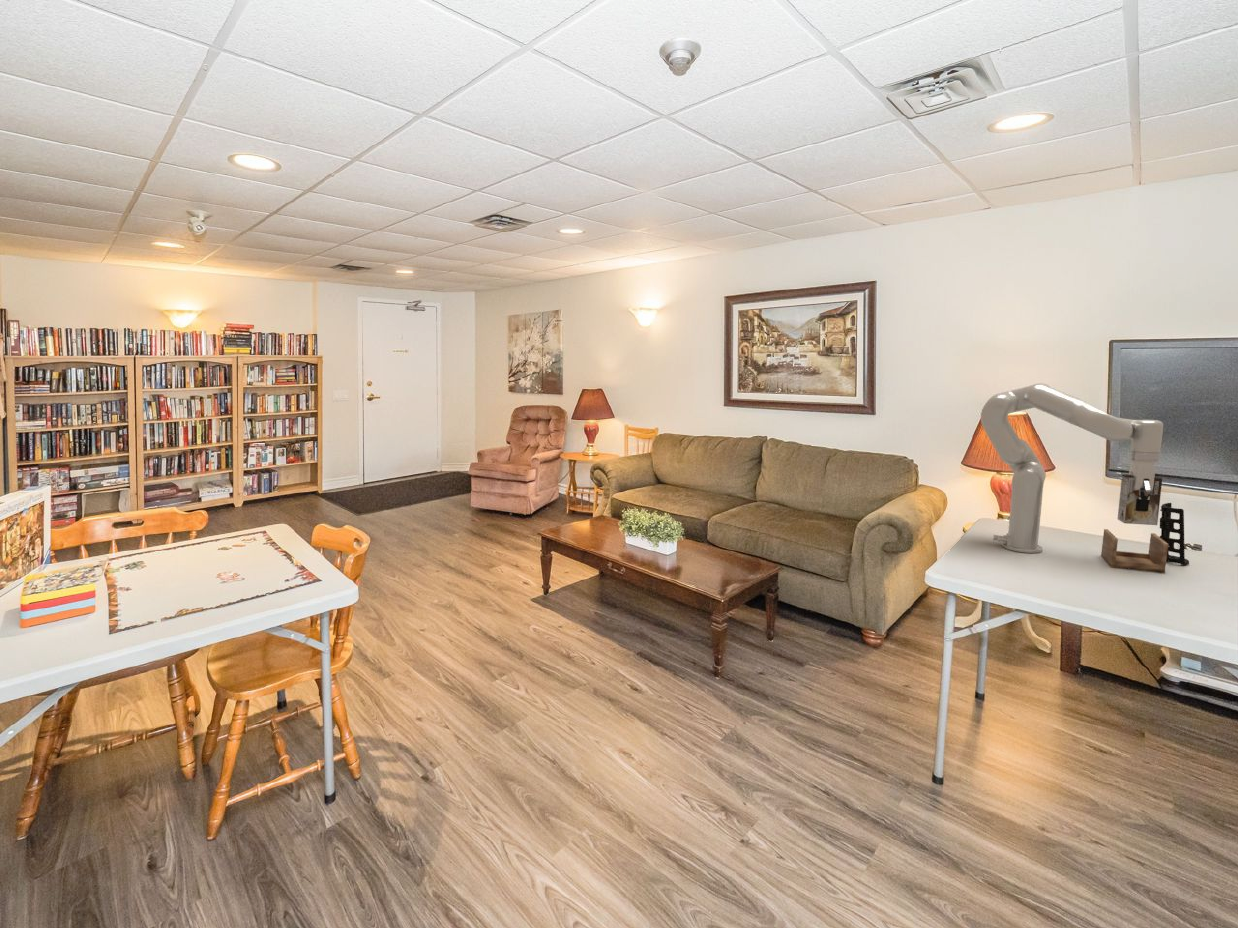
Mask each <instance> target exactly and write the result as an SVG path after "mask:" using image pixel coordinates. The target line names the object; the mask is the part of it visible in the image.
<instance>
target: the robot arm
mask: <svg viewBox="0 0 1238 928" xmlns="http://www.w3.org/2000/svg"><path fill="white" fill-rule="evenodd" d="M1029 409H1036V410H1039V411H1041V412H1044V413H1047V414H1048V415H1051V416H1053V417H1055V418H1057V419H1060V420H1062V421H1064V422H1067V423H1069V424H1071V425H1073V426H1076V427H1079V428H1081V429H1083V430H1085V431H1087V432H1090V433H1091V434H1093V435H1096V436H1099V437H1101V438H1103V439H1105V440H1108V441H1110V442H1113V443H1123V442H1125V441H1127V440H1131V444H1130V454H1129V461H1131V463H1130V466H1129V470H1128V475H1131V476H1133V477H1134V478H1135V480H1134V487H1133V490H1134V491H1136V490H1138V499H1137V500H1136V508H1135V510H1136V511H1144V512H1147V511H1148V507H1149V499H1150V491H1152V490H1153V486H1154V477H1155V476H1156V475H1155V474H1156V463H1159V462H1160V456H1161V447H1162V441H1163V440H1162V439H1163V433H1164V422H1162V421H1161V420H1157V419H1129V418H1123V417H1117V416H1114V415H1111V414H1109V413H1107V412H1104V411H1102V410H1099V409H1098V408H1095V407H1094V406H1092V405H1090V404H1089V403H1088V402H1086V401H1084V400H1082V399H1080V398H1077V397H1075V396H1073V395H1071V394H1067V393H1065V392H1063V391H1061V390H1059V389H1056V388H1053V387H1051V386H1050V385H1048V384H1046V383H1041V382H1040V383H1034V384H1032V385H1028V386H1024V387H1021V388H1020V387H1019V388H1016V389H1011V390H1009V391H1007V390H1006V391H1003V392H1000V393H996V394H994V395H992V396H991V397H990V398H989V399H988V400H987V401H986V403H985V404H984V406H983V407H982V409H981V412H980V423H981V426H982V428H983V430H984V432H985V433H986V435H987V437H988V439H989V441H990V443H991V445H992V446H993V448H994V449H995V451H996V453H997V456H998V457H999V459H1000V460H1001V461H1002V462H1003V463H1004V464H1006V465H1008V466H1009V468H1010V470H1011V472H1012V473H1013V475H1012V478H1011V496H1010V508H1009V510H1010V511H1009V520H1008V533H1006V534H1003V535H997V534H993V539H992V540H993V541H997V542H1002V544H1001V546H1002V547H1003V548H1004V549H1007V550H1009V551H1013V552H1019V553H1026V554H1027V553H1028V554H1038V553H1041V552H1042V551H1043V547H1042V546H1041V545H1040V544H1038V543H1039V535H1040V525H1041V515H1042V505H1043V504H1042V502H1043V491H1044V483H1045V480H1046V477H1047V475H1046V470H1045V468H1044V467H1043V465H1042V463H1041V462H1040V460H1039V458H1038V457H1037V455H1036V453H1035V452H1034V450H1033V448H1032V447H1031V446H1030V444H1029V443H1028V442H1027V441H1026V440H1025V439H1024V438H1020V437H1019V436H1018V434H1017V433H1016V431H1015V429H1014V427H1013V426H1012V425H1011V423H1010V422H1009V419H1008V415H1010V414H1014V413H1017V412H1021V411H1024V410H1025V411H1026V410H1029ZM1140 488H1144V490H1140ZM1150 488H1151V490H1150ZM1141 492H1143V493H1142V494H1141Z"/></svg>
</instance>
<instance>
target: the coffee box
mask: <svg viewBox="0 0 1238 928" xmlns="http://www.w3.org/2000/svg"><path fill="white" fill-rule="evenodd" d="M1134 480H1135V478H1134V477H1133V476H1131V475H1129V474H1126V473H1125V474H1122V475H1121V480H1120V481H1121V483H1120V493H1119V500H1118V501H1119V502H1118V509H1117V510H1118V511H1117V520H1118V521H1120V522H1121V523H1123V524H1129V525H1130V524H1131V525H1145V526H1146V525H1147V526H1149V525H1150V526H1158V522H1159V515H1160V514H1159V513H1160V503H1161V496H1162V495H1161V494H1162V493H1161V492H1162V484H1163V478H1162V477H1159V476H1156V475H1155V477H1154V486H1153V490H1152V491H1150V499H1149V507H1148V511H1147V512H1144V511H1136V510H1135V508H1136V500H1137V499H1138V490H1136V491H1134V490H1133V487H1134ZM1140 490H1144V488H1140ZM1150 490H1151V488H1150ZM1142 493H1143V492H1141V494H1142Z"/></svg>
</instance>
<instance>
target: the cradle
mask: <svg viewBox="0 0 1238 928" xmlns="http://www.w3.org/2000/svg"><path fill="white" fill-rule="evenodd" d="M1118 542H1119V538H1117V537H1116V536H1115V535H1114V534H1113V533H1112V532H1111V530H1109V529H1106V528H1103V536H1102V543H1101V555H1100V556H1101V558H1102V559H1103V560H1104V561H1105V563H1107V564H1108V566H1109V567H1110V568H1113V569H1120V570H1121V569H1123V570H1131V571H1139V572H1140V571H1141V572H1148V573H1149V572H1150V573H1158V574H1165V572H1166V565H1167V564H1166V563H1167V561H1166V558H1167V551H1168V543H1166V542H1165V541H1164V540H1163V539H1161V538H1160V536H1159V535H1158V534H1157V533H1154V532H1152V533H1150V538H1149V545H1148V546H1149V547H1148V553H1143V552H1142V553H1141V552H1131V551H1123V550H1118Z"/></svg>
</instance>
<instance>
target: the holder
mask: <svg viewBox="0 0 1238 928" xmlns="http://www.w3.org/2000/svg"><path fill="white" fill-rule="evenodd" d="M1184 511H1185V510H1184V509H1183V508H1176V507H1175V508H1174V507H1172V502H1166V503H1163V504H1162V505H1161V506H1160V509H1159V512H1161V517H1160V518H1159V529H1161V532H1160V534H1161V535H1160V536H1159V537H1160V538H1161V539H1163V540H1164V541H1165V542H1166V543H1168V551H1167V558H1166V562H1170V563H1175V564H1180V565H1181V566H1183V567H1186V566H1188V565H1189V564H1190V560H1189V559H1188V558H1185V512H1184ZM1172 513H1174V514H1177V515H1179V518H1172ZM1175 524H1178V525H1179V526H1178V527H1179V528H1175ZM1171 533H1175V534H1178V535H1179V539H1178V538H1173V537H1171ZM1175 543H1176V544H1179V548H1176V547H1175ZM1169 552H1172V553H1176V554H1179V556H1178V555H1177V556H1176V555H1172V554H1170V553H1169Z"/></svg>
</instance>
